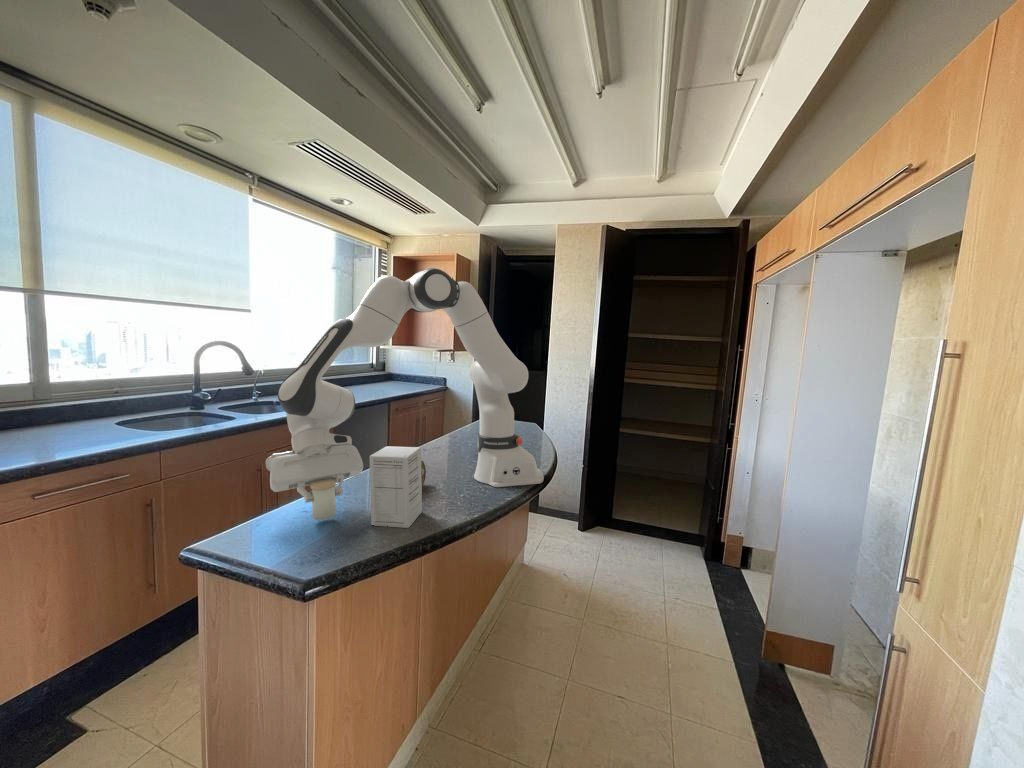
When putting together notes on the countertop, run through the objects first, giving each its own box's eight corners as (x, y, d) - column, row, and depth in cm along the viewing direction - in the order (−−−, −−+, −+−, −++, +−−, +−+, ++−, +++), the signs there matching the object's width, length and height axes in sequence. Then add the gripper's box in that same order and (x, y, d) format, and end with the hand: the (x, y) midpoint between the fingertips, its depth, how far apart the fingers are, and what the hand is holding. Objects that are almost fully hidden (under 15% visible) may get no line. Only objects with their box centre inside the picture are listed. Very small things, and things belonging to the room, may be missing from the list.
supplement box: (423, 511, 96) (422, 446, 94) (409, 528, 87) (408, 457, 85) (387, 509, 97) (386, 445, 96) (369, 525, 88) (368, 455, 86)
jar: (340, 509, 93) (339, 478, 92) (331, 519, 87) (330, 486, 86) (317, 510, 92) (316, 478, 91) (307, 520, 87) (306, 486, 86)
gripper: (265, 448, 87) (273, 503, 80) (357, 435, 100) (370, 481, 93) (263, 462, 91) (271, 515, 84) (352, 448, 104) (365, 493, 97)
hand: (324, 497), depth 89 cm, fingers closed on jar, 5 cm apart
